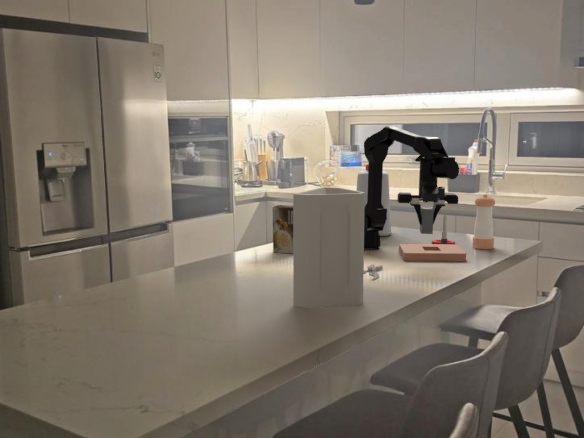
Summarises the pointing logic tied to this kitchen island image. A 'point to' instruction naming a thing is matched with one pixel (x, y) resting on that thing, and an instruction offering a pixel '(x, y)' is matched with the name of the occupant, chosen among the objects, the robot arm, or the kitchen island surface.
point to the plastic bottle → (363, 187)
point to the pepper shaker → (484, 223)
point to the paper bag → (328, 247)
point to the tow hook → (444, 234)
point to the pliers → (374, 271)
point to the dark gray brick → (426, 220)
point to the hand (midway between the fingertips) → (426, 224)
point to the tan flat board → (431, 252)
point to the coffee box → (283, 229)
